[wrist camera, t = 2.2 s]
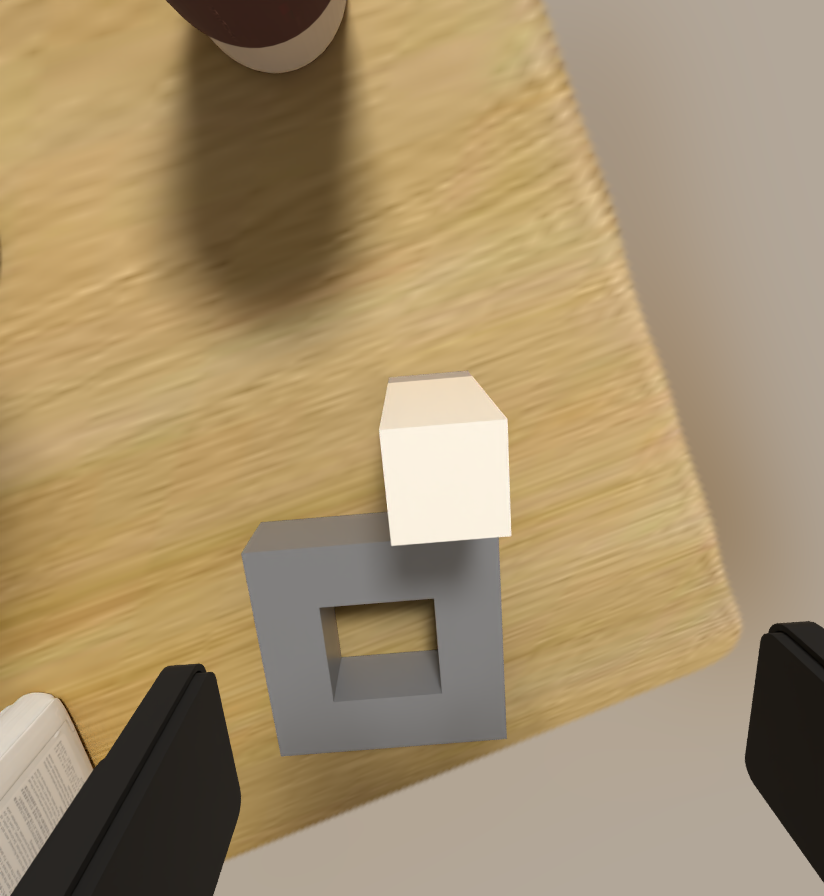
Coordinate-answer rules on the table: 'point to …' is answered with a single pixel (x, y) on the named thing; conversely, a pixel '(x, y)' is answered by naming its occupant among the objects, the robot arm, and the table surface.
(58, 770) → the photo printer
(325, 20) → the coffee cup
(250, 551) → the socket box
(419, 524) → the plug
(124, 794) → the robot arm
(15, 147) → the table surface
